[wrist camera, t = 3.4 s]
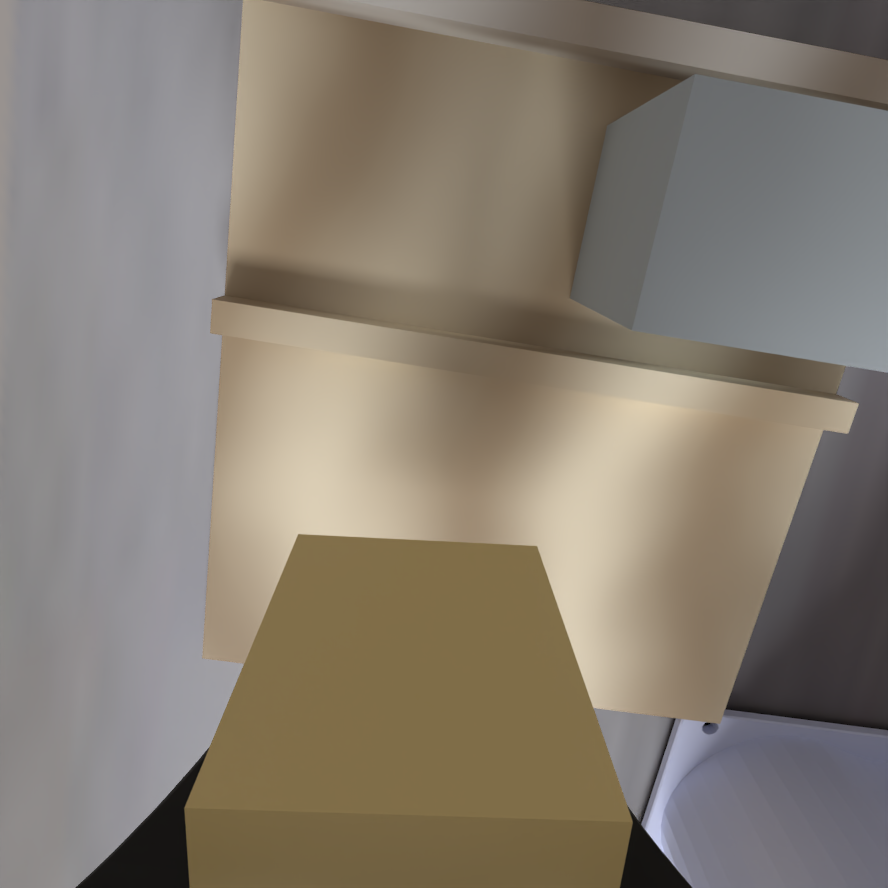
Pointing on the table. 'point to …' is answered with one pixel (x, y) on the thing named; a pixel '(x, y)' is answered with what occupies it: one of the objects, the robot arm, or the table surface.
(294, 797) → the ochre carton
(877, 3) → the table surface
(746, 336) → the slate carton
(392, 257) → the beige divided tray
